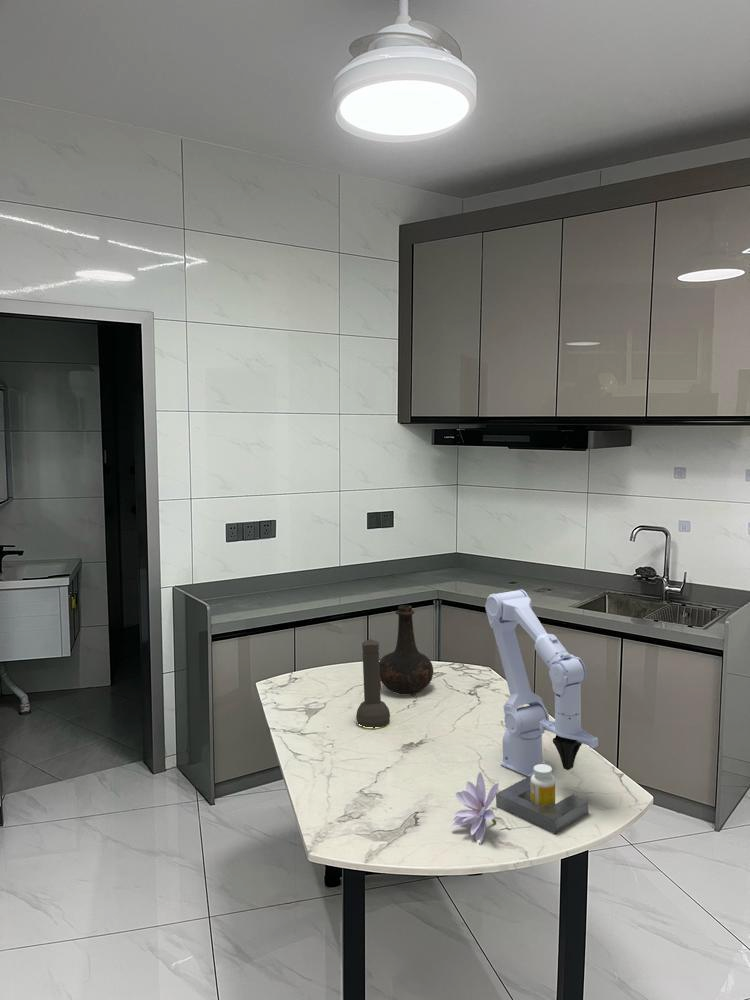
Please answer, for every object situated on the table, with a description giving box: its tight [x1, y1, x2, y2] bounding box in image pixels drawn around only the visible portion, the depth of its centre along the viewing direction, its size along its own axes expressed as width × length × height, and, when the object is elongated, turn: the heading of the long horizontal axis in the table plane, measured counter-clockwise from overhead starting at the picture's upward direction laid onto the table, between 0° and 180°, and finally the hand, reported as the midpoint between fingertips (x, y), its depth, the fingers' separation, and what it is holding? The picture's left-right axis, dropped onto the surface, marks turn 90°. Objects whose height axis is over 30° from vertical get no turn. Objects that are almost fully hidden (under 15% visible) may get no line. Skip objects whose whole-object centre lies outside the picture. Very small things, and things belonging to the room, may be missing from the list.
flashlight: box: [355, 638, 391, 728], centre depth 217 cm, size 10×25×10 cm
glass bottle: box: [379, 604, 434, 695], centre depth 243 cm, size 18×18×28 cm
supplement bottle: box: [530, 764, 556, 809], centre depth 166 cm, size 5×5×10 cm
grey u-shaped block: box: [495, 776, 590, 835], centre depth 166 cm, size 16×12×3 cm
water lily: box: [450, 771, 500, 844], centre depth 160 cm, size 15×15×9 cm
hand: (568, 767), depth 172 cm, fingers closed
